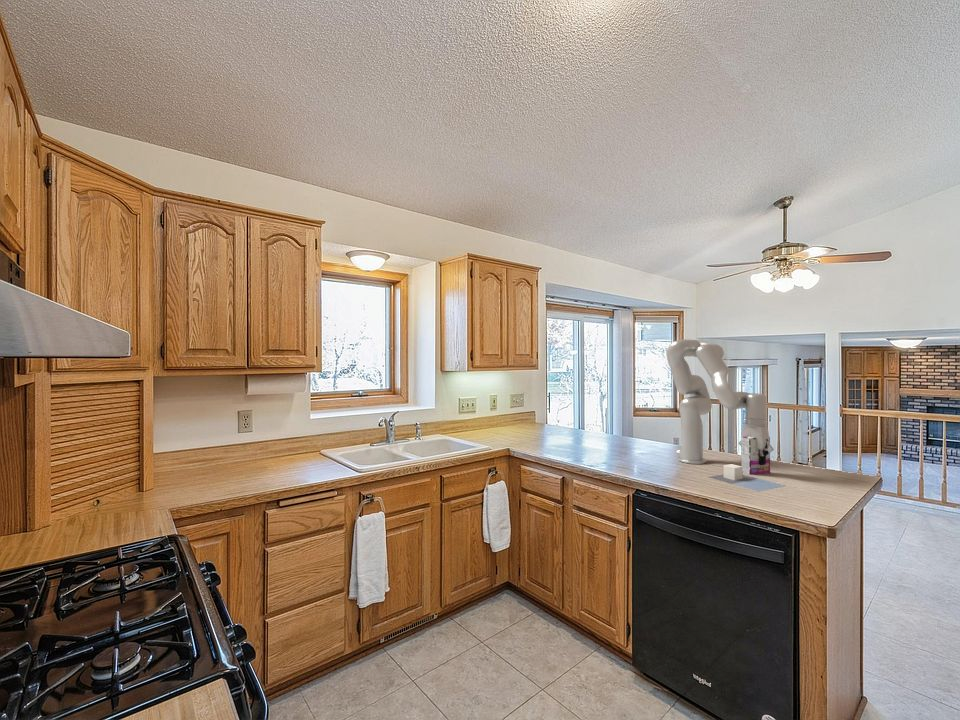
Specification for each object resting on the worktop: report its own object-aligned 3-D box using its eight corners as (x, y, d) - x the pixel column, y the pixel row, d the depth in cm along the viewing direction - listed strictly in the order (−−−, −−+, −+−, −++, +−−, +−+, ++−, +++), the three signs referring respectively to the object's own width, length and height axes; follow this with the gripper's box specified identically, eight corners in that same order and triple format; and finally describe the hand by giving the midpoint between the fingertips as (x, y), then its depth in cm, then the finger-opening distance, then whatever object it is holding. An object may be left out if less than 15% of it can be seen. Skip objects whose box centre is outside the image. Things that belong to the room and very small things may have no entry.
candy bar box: (760, 471, 201) (760, 434, 201) (770, 474, 197) (770, 436, 196) (740, 473, 198) (740, 435, 198) (749, 476, 194) (750, 438, 193)
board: (708, 479, 190) (708, 477, 190) (733, 474, 197) (733, 472, 197) (759, 493, 170) (759, 491, 170) (785, 487, 177) (785, 485, 177)
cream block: (723, 477, 190) (723, 465, 190) (731, 475, 192) (731, 464, 192) (734, 480, 185) (734, 468, 185) (742, 478, 188) (742, 466, 187)
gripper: (731, 419, 203) (731, 459, 204) (769, 425, 188) (769, 468, 188) (742, 418, 206) (742, 458, 207) (781, 424, 191) (780, 466, 191)
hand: (755, 462), depth 197 cm, fingers closed on candy bar box, 5 cm apart
